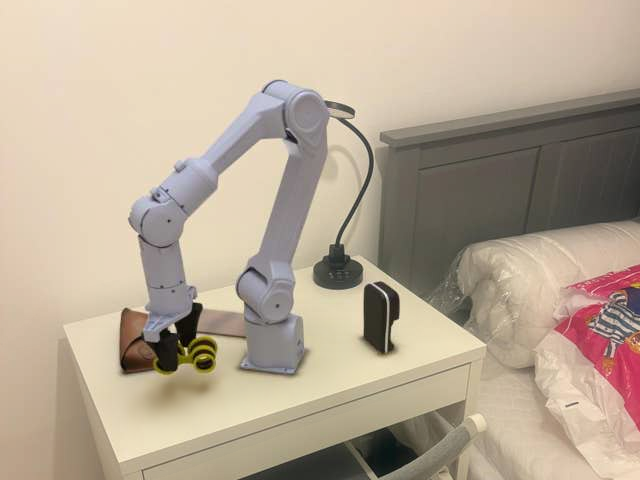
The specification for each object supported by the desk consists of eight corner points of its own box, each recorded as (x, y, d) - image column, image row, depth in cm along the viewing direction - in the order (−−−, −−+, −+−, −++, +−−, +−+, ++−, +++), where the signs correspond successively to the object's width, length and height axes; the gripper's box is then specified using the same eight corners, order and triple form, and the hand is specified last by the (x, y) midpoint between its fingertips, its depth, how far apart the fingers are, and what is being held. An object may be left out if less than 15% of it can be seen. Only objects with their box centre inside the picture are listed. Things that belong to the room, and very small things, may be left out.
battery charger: (400, 350, 115) (403, 291, 108) (382, 356, 113) (384, 297, 107) (379, 332, 120) (381, 275, 113) (361, 338, 118) (362, 280, 112)
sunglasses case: (172, 364, 112) (146, 338, 108) (140, 387, 112) (113, 362, 109) (166, 315, 126) (143, 290, 122) (138, 335, 127) (114, 312, 123)
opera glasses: (155, 380, 103) (149, 355, 100) (159, 360, 107) (154, 335, 104) (217, 377, 103) (213, 352, 100) (219, 357, 107) (215, 332, 104)
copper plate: (259, 317, 126) (259, 315, 126) (245, 337, 119) (245, 336, 119) (197, 310, 128) (197, 309, 128) (180, 330, 122) (180, 329, 122)
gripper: (162, 257, 102) (176, 332, 110) (116, 300, 91) (135, 380, 99) (204, 261, 101) (215, 336, 109) (163, 304, 89) (178, 385, 97)
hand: (179, 358), depth 104 cm, fingers closed on opera glasses, 6 cm apart
